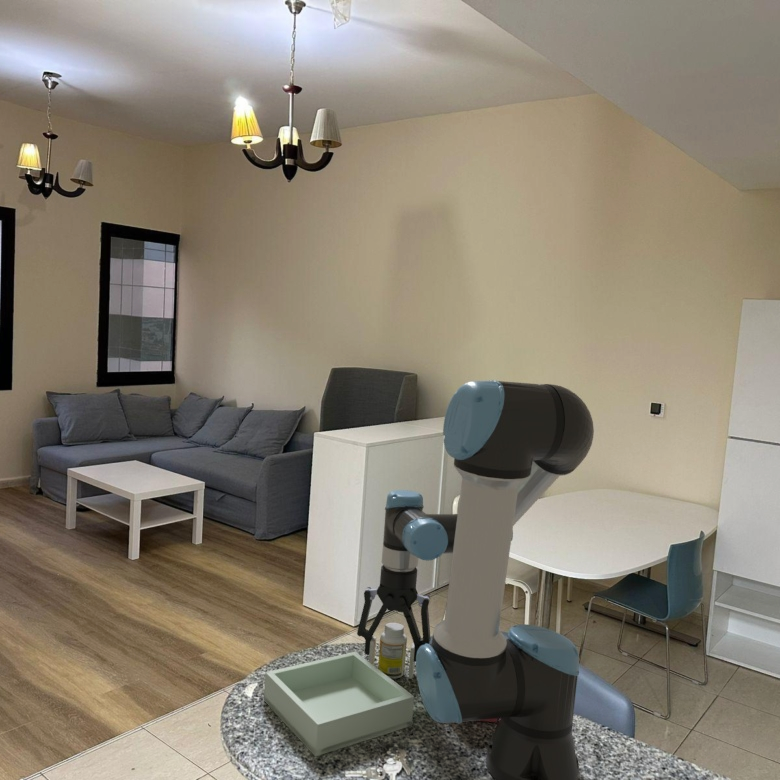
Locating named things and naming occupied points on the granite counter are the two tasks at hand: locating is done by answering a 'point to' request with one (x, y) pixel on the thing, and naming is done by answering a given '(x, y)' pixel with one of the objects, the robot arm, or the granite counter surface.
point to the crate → (337, 702)
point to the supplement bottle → (392, 650)
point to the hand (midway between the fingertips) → (390, 672)
